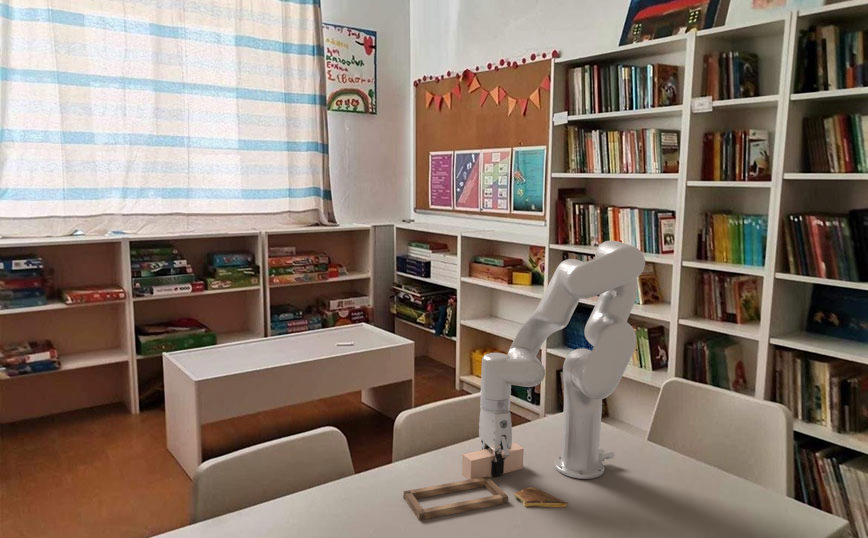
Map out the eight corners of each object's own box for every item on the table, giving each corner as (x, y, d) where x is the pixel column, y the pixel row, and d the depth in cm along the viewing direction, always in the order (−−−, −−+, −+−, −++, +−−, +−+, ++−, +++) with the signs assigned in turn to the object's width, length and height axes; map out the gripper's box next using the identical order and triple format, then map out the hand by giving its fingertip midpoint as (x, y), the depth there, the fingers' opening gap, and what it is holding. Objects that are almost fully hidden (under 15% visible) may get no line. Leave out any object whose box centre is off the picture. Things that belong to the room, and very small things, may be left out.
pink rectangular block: (513, 462, 169) (514, 442, 169) (522, 468, 166) (523, 448, 165) (462, 474, 162) (462, 454, 161) (470, 481, 158) (471, 460, 158)
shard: (568, 509, 147) (568, 501, 147) (547, 520, 142) (547, 513, 142) (531, 491, 155) (531, 484, 155) (510, 501, 150) (510, 494, 150)
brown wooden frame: (487, 482, 158) (487, 476, 158) (507, 502, 148) (508, 496, 148) (403, 497, 150) (403, 491, 150) (419, 520, 140) (419, 513, 140)
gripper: (525, 412, 155) (521, 483, 158) (493, 390, 170) (490, 454, 173) (497, 416, 152) (494, 488, 155) (467, 393, 167) (465, 459, 170)
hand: (492, 469), depth 164 cm, fingers closed on pink rectangular block, 4 cm apart
